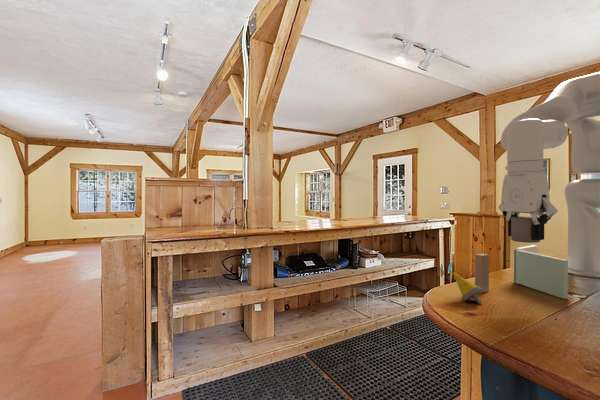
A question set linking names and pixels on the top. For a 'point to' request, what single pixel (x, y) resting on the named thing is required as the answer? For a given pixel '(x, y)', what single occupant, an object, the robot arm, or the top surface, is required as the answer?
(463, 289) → the drill bit
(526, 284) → the door
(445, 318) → the top surface
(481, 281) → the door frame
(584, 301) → the top surface
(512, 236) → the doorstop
